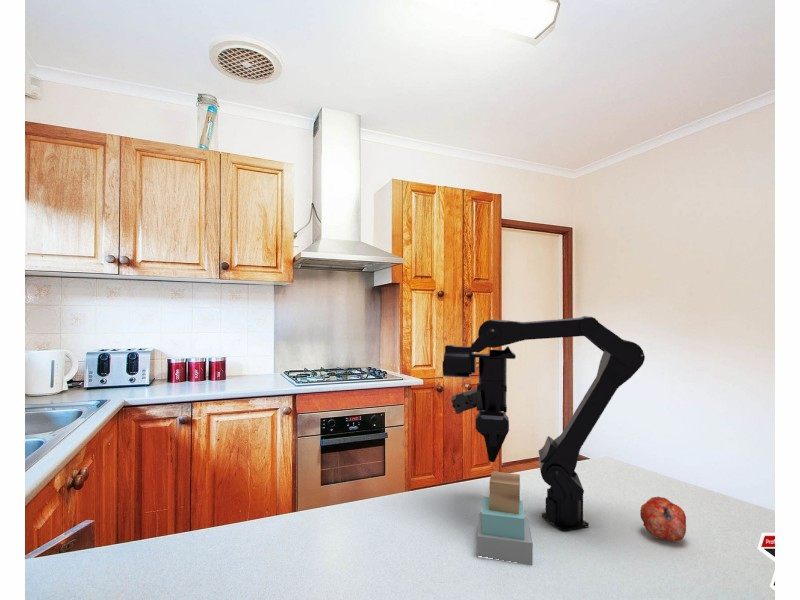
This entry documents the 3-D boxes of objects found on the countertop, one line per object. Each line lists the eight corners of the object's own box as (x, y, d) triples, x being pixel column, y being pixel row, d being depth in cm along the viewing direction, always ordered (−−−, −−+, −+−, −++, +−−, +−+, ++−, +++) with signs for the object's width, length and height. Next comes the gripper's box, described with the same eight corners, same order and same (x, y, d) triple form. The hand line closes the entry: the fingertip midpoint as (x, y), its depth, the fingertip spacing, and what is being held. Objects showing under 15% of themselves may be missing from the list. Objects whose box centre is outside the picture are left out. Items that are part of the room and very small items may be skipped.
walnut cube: (491, 498, 79) (492, 471, 79) (519, 502, 77) (519, 474, 77) (489, 510, 74) (489, 481, 74) (518, 514, 72) (519, 485, 73)
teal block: (483, 515, 79) (483, 496, 79) (522, 520, 78) (522, 500, 78) (481, 534, 73) (482, 513, 73) (524, 540, 71) (524, 518, 71)
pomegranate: (637, 537, 83) (636, 523, 77) (643, 500, 87) (643, 484, 80) (682, 554, 79) (686, 541, 72) (686, 514, 82) (690, 498, 76)
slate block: (479, 532, 81) (479, 511, 81) (528, 539, 79) (528, 517, 79) (477, 559, 72) (477, 536, 72) (532, 567, 70) (532, 543, 70)
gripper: (457, 371, 100) (456, 437, 99) (449, 384, 81) (448, 466, 81) (506, 373, 97) (505, 441, 97) (509, 387, 79) (508, 472, 79)
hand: (491, 453), depth 88 cm, fingers open, 9 cm apart
